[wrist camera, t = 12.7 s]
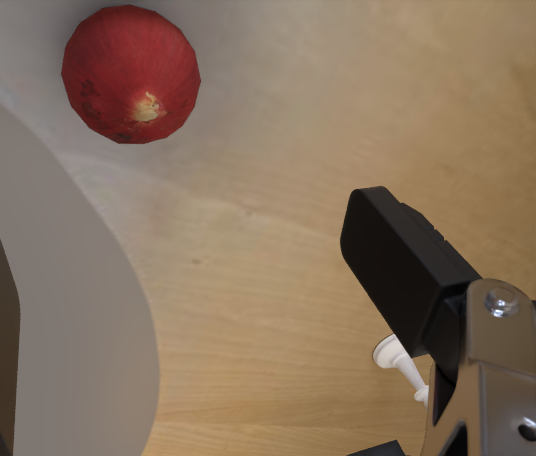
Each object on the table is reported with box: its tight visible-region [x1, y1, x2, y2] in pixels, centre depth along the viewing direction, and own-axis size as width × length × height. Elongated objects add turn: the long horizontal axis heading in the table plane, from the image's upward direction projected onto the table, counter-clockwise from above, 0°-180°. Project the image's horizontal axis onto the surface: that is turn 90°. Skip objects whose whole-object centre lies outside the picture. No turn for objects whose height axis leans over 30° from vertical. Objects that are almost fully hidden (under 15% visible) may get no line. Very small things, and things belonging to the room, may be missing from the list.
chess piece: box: [373, 334, 429, 411], centre depth 47 cm, size 5×5×10 cm
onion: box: [61, 5, 201, 144], centre depth 22 cm, size 6×6×8 cm
